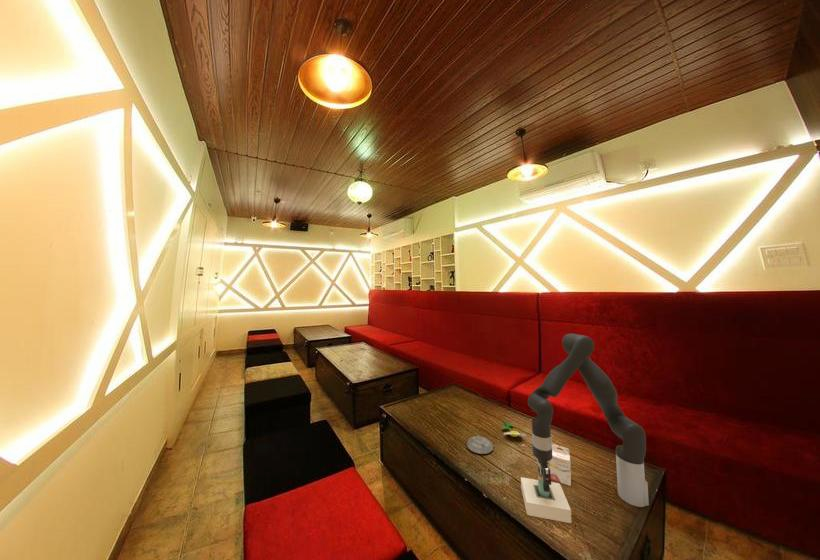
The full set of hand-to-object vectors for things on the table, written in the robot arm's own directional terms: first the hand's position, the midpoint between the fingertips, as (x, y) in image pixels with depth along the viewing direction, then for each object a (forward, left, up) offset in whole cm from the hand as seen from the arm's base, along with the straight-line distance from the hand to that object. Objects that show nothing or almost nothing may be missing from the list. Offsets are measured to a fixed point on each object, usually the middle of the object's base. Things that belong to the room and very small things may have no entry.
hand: (543, 483), depth 107 cm
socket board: (0, 0, -9) cm, 9 cm away
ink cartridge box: (-11, -17, -9) cm, 22 cm away
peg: (0, 0, -9) cm, 9 cm away
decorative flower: (+8, -56, -9) cm, 57 cm away
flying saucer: (+26, -34, -9) cm, 44 cm away
